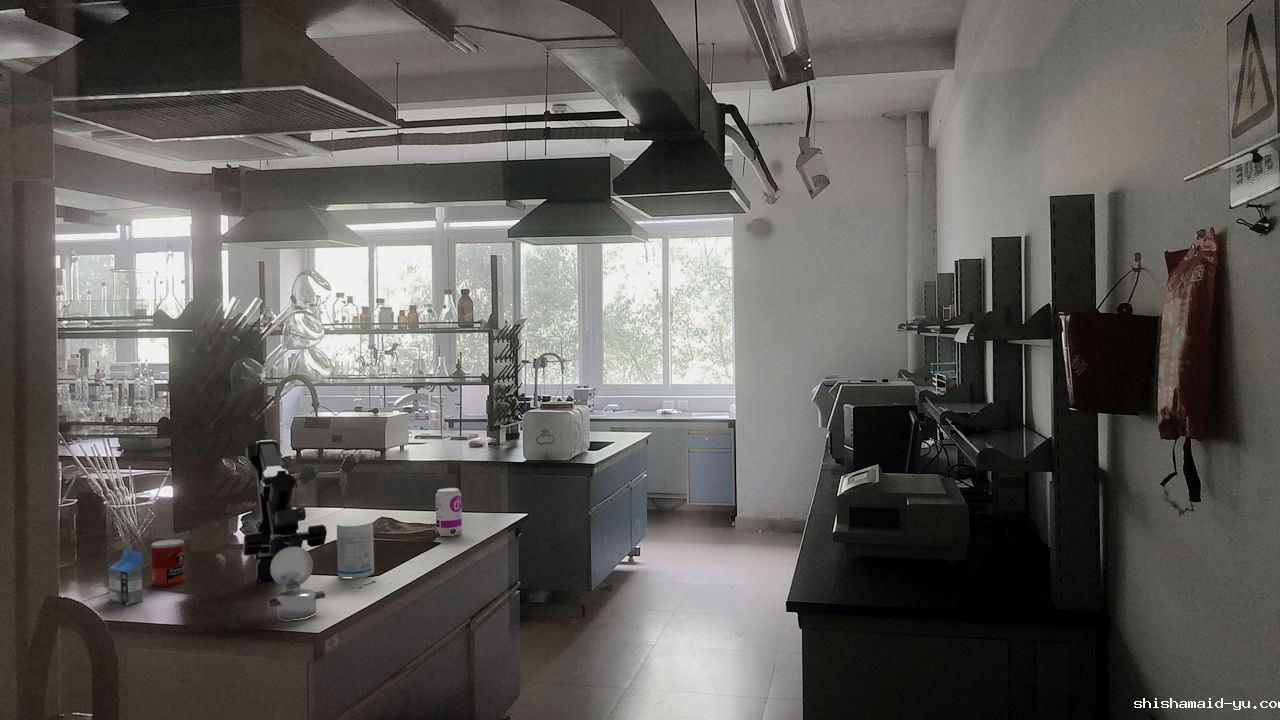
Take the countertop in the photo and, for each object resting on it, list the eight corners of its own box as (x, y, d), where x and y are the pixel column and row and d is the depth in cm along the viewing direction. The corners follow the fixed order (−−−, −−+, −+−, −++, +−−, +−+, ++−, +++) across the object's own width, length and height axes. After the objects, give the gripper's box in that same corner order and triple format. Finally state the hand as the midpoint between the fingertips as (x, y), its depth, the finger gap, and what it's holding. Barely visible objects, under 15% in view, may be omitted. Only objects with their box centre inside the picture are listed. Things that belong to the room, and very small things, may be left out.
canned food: (171, 587, 225) (169, 546, 224) (145, 586, 226) (143, 545, 226) (192, 579, 232) (190, 539, 232) (166, 578, 234) (165, 538, 234)
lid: (272, 592, 199) (270, 591, 200) (314, 585, 204) (312, 585, 205) (269, 549, 200) (268, 549, 202) (311, 544, 205) (310, 543, 207)
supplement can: (467, 533, 283) (466, 488, 283) (449, 538, 276) (448, 492, 276) (449, 531, 287) (448, 486, 287) (431, 536, 280) (430, 490, 280)
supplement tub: (342, 571, 237) (341, 519, 237) (377, 570, 238) (376, 517, 238) (333, 581, 227) (332, 526, 227) (370, 579, 228) (368, 524, 228)
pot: (320, 605, 206) (319, 584, 206) (328, 615, 197) (327, 594, 197) (265, 614, 199) (264, 593, 199) (271, 625, 191) (271, 603, 191)
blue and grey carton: (108, 600, 214) (107, 552, 213) (124, 596, 217) (123, 548, 217) (127, 605, 209) (126, 555, 209) (144, 601, 212) (142, 552, 212)
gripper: (243, 500, 204) (250, 555, 195) (324, 492, 214) (334, 543, 204) (240, 528, 211) (247, 582, 201) (318, 518, 220) (329, 569, 211)
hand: (290, 568), depth 204 cm, fingers closed
